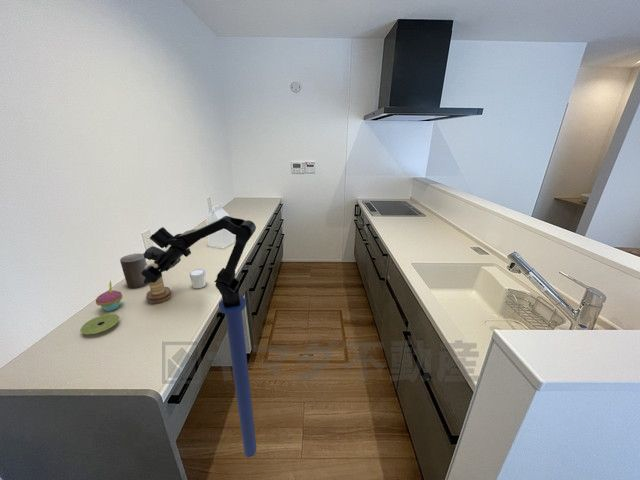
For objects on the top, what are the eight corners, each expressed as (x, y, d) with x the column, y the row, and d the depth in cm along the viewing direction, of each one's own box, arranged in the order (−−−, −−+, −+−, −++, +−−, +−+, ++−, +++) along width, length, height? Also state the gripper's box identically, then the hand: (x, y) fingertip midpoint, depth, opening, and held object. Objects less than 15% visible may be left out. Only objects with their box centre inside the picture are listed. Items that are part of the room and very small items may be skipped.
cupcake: (120, 299, 114) (112, 274, 109) (128, 306, 109) (120, 281, 105) (95, 308, 107) (86, 283, 103) (103, 316, 103) (94, 290, 98)
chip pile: (173, 290, 121) (172, 284, 119) (170, 302, 112) (168, 296, 111) (150, 294, 118) (148, 288, 117) (144, 306, 109) (142, 299, 108)
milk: (223, 248, 167) (218, 208, 157) (208, 246, 170) (202, 207, 161) (234, 242, 177) (230, 204, 168) (220, 239, 181) (215, 202, 171)
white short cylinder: (208, 286, 124) (206, 273, 122) (193, 290, 121) (190, 277, 118) (205, 280, 130) (203, 267, 127) (190, 284, 126) (187, 271, 123)
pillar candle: (126, 290, 120) (118, 261, 115) (127, 281, 128) (119, 253, 122) (151, 284, 125) (144, 256, 119) (151, 276, 133) (144, 249, 127)
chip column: (167, 290, 115) (161, 264, 110) (155, 296, 111) (149, 269, 106) (160, 287, 117) (154, 261, 112) (148, 293, 113) (142, 266, 108)
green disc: (100, 340, 91) (99, 335, 90) (73, 335, 93) (71, 331, 92) (128, 319, 101) (126, 315, 101) (103, 316, 103) (101, 312, 102)
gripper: (168, 233, 114) (149, 256, 118) (140, 251, 96) (118, 276, 101) (189, 250, 117) (169, 272, 121) (165, 270, 99) (143, 294, 103)
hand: (151, 277), depth 111 cm, fingers open, 9 cm apart
